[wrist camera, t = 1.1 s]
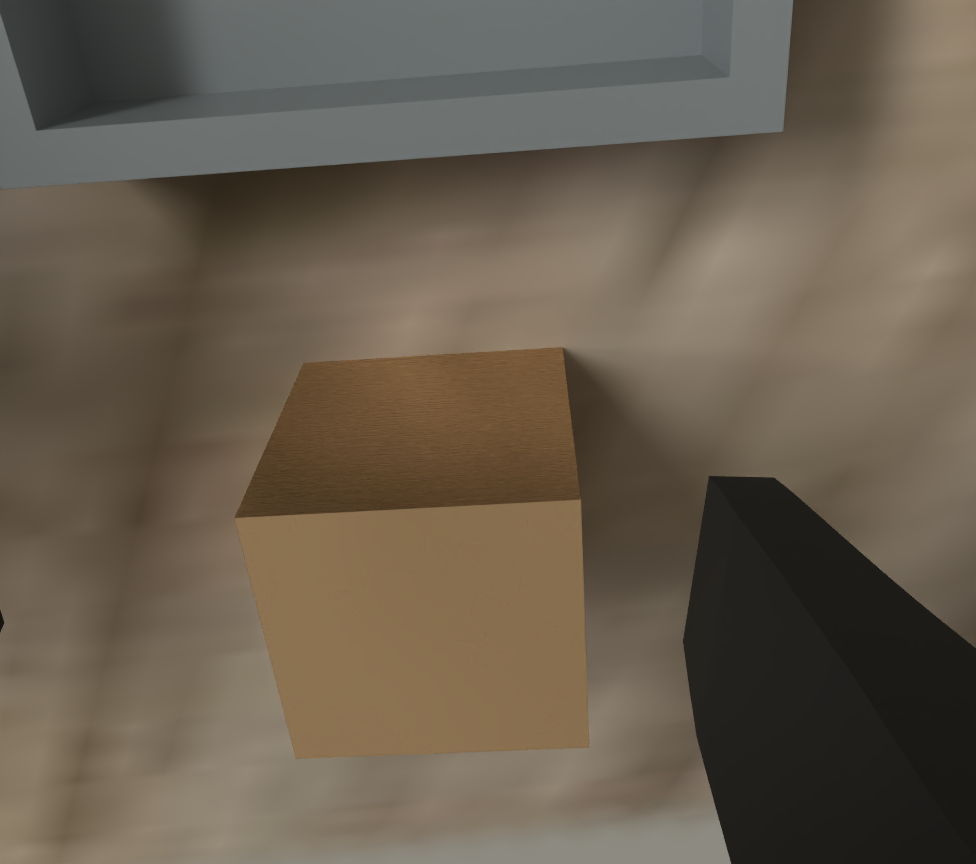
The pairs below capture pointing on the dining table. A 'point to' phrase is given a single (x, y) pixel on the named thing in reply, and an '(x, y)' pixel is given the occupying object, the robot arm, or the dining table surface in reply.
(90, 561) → the dining table surface
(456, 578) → the brown box
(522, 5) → the tote
